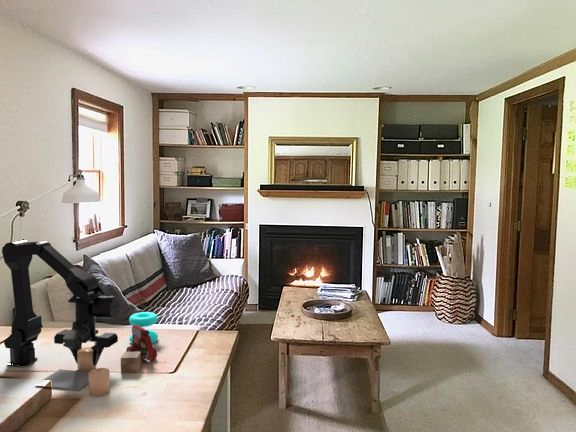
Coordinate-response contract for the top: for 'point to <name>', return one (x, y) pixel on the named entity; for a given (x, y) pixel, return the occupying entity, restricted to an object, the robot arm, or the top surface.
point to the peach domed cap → (99, 382)
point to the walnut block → (130, 362)
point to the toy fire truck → (142, 343)
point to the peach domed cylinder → (85, 359)
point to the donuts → (144, 323)
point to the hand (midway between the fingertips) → (86, 364)
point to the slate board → (69, 379)
